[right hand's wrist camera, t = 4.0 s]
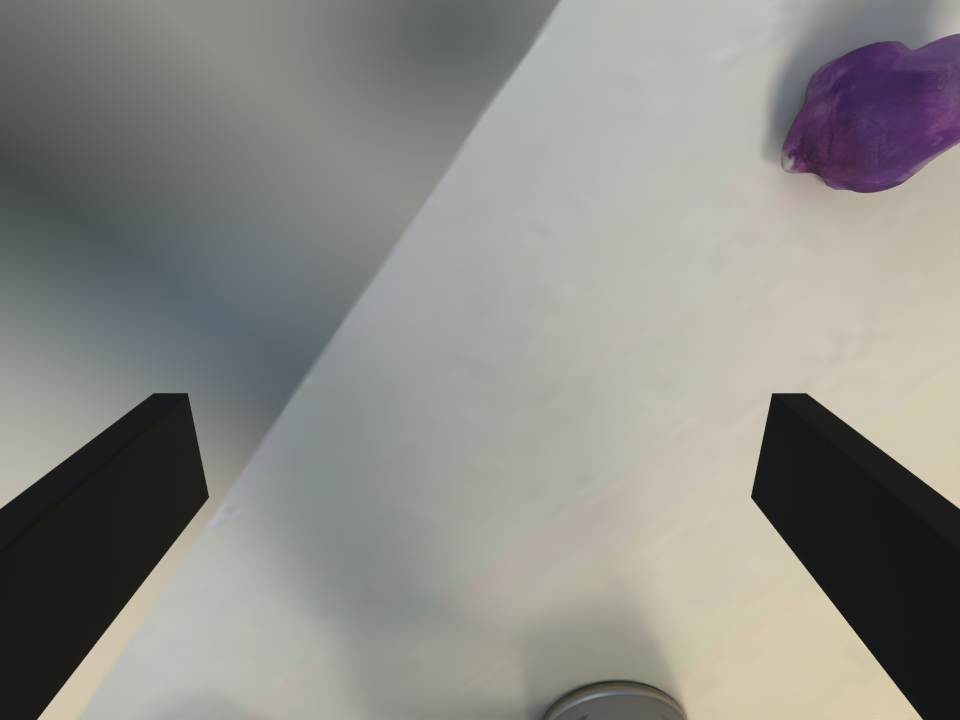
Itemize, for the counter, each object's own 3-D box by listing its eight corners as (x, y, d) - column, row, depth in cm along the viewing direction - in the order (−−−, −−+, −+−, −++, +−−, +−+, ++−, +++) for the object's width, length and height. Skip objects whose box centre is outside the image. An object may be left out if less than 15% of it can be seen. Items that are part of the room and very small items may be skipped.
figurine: (970, 37, 34) (1310, -39, 20) (889, 204, 38) (1131, 238, 24) (828, -4, 33) (1079, -113, 19) (759, 171, 37) (930, 185, 23)
